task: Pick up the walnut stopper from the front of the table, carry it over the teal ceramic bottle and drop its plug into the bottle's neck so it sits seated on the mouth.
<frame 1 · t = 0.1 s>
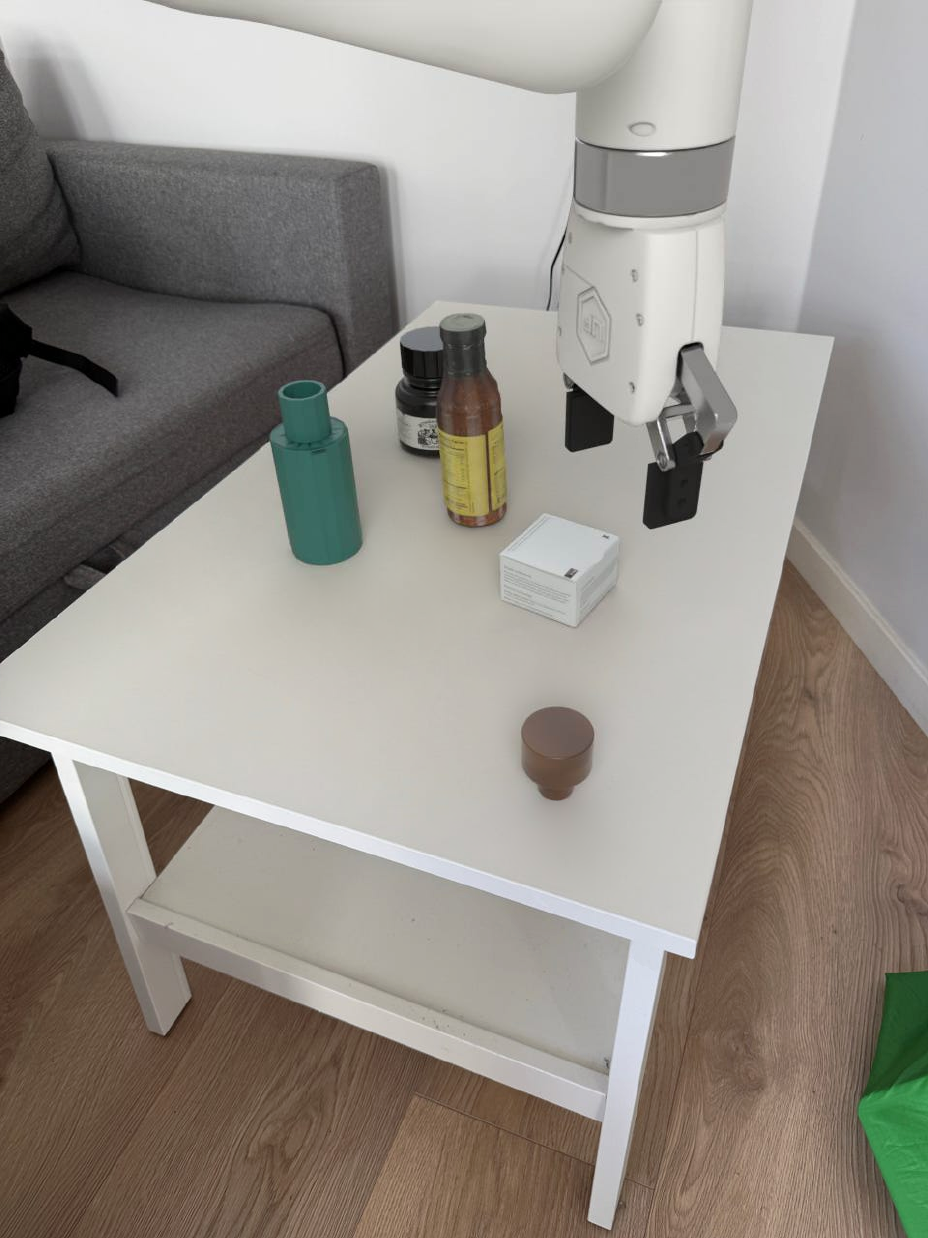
hand: (626, 481, 55), 21 cm above the table, tool pointing down, fingers open, 9 cm apart
sauce bottle: (474, 515, 92), on the table
bottle: (327, 544, 88), on the table
small box: (558, 593, 81), on the table
stopper: (555, 786, 64), on the table
ink bottle: (438, 442, 104), on the table
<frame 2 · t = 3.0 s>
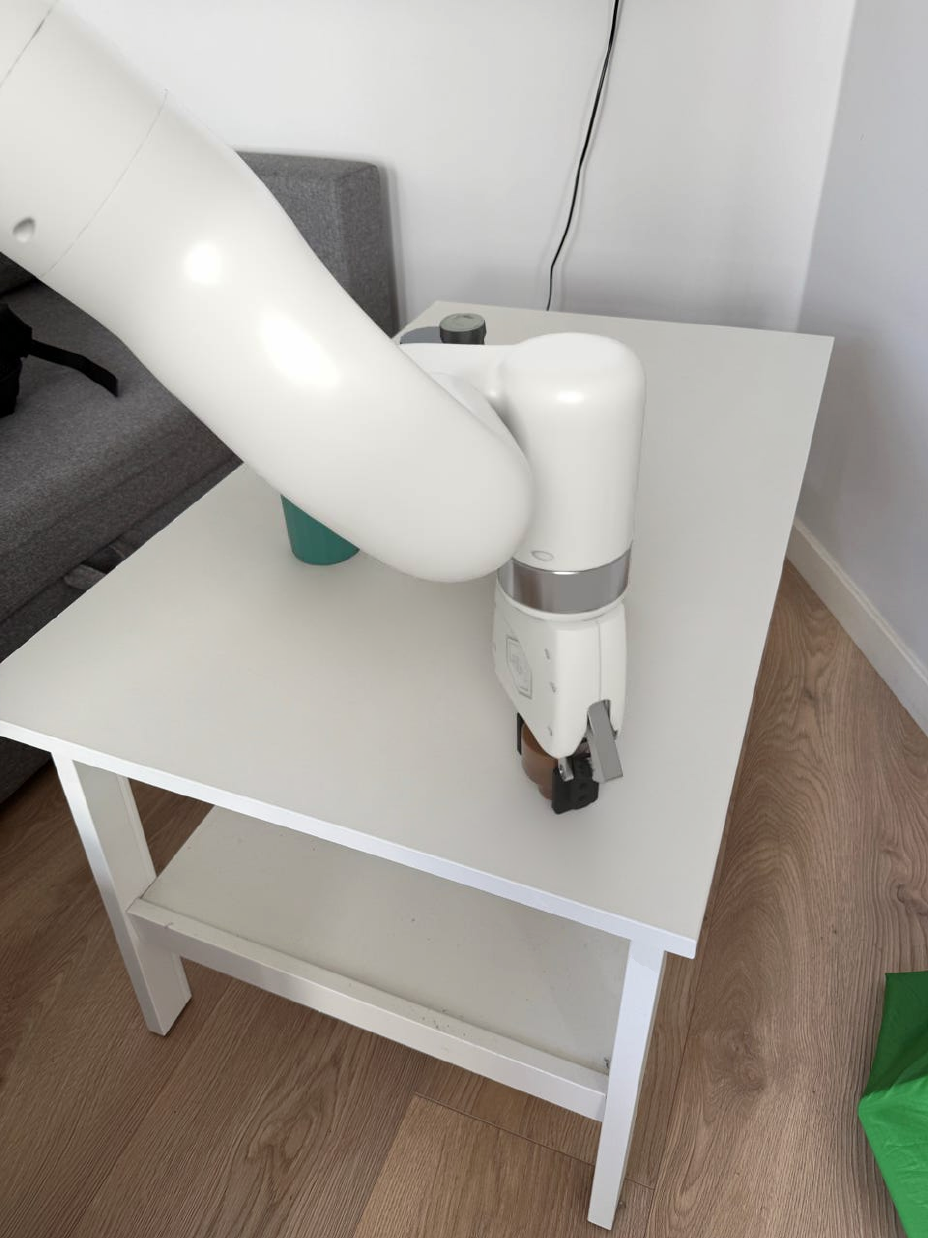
hand: (556, 774, 63), 1 cm above the table, tool pointing down, fingers closed on stopper, 4 cm apart
stopper: (556, 786, 64), on the table, touching gripper
everything else where it was.
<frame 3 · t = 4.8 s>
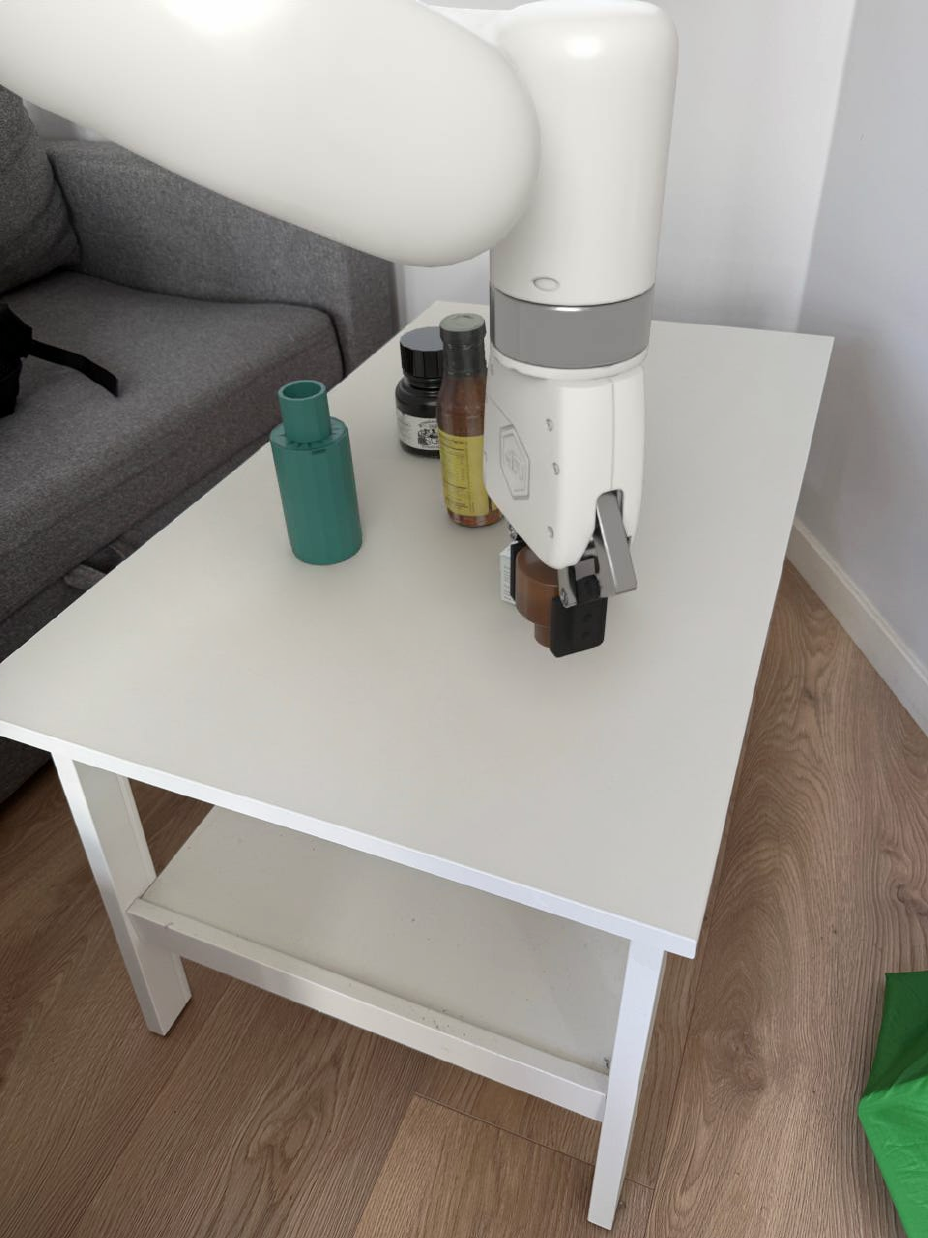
hand: (555, 618, 54), 15 cm above the table, tool pointing down, fingers closed on stopper, 4 cm apart
stopper: (555, 635, 55), point 14 cm above the table, touching gripper
everything else where it was.
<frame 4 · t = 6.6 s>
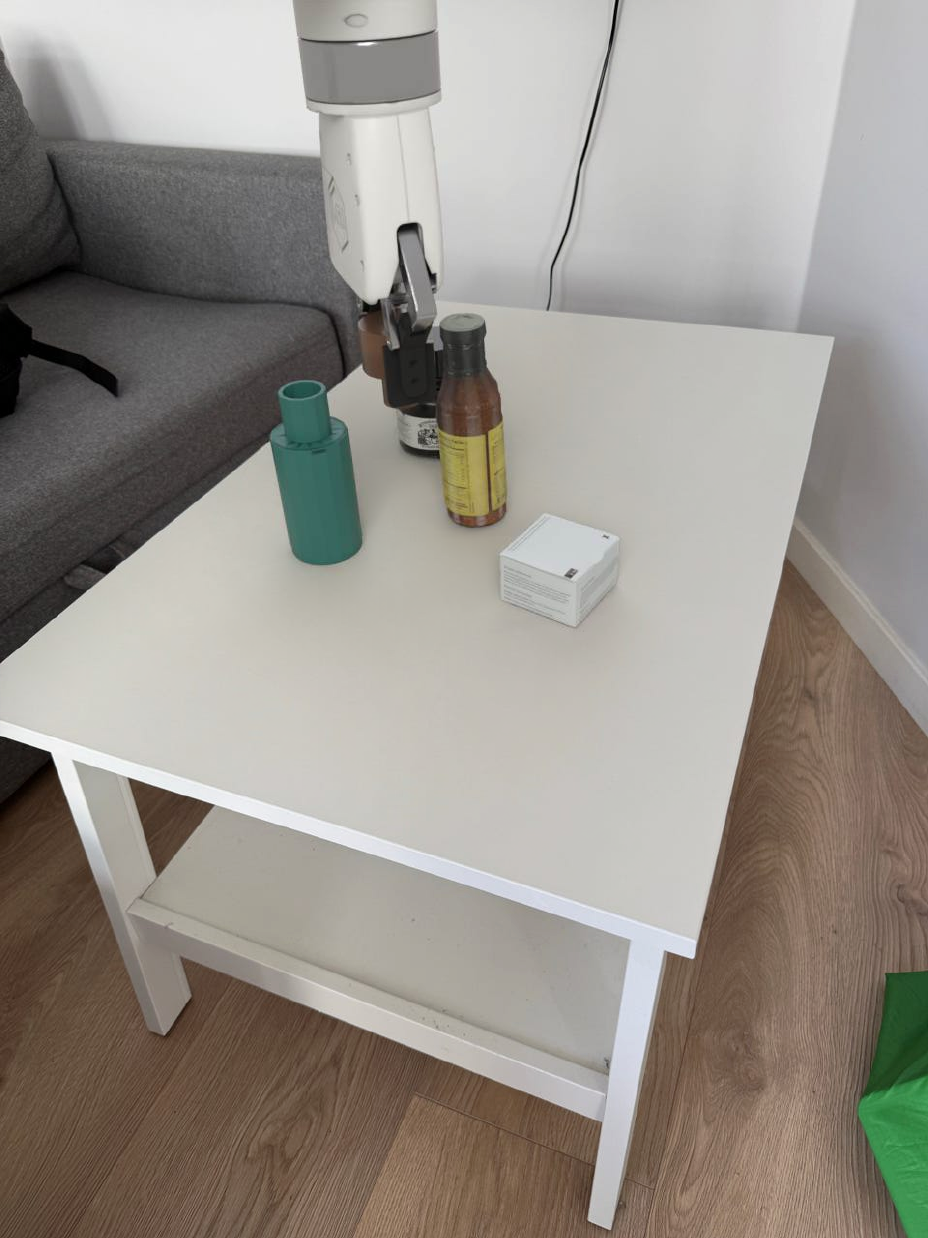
hand: (399, 382, 61), 23 cm above the table, tool pointing down, fingers closed on stopper, 4 cm apart
stopper: (402, 400, 62), point 22 cm above the table, touching gripper
everything else where it was.
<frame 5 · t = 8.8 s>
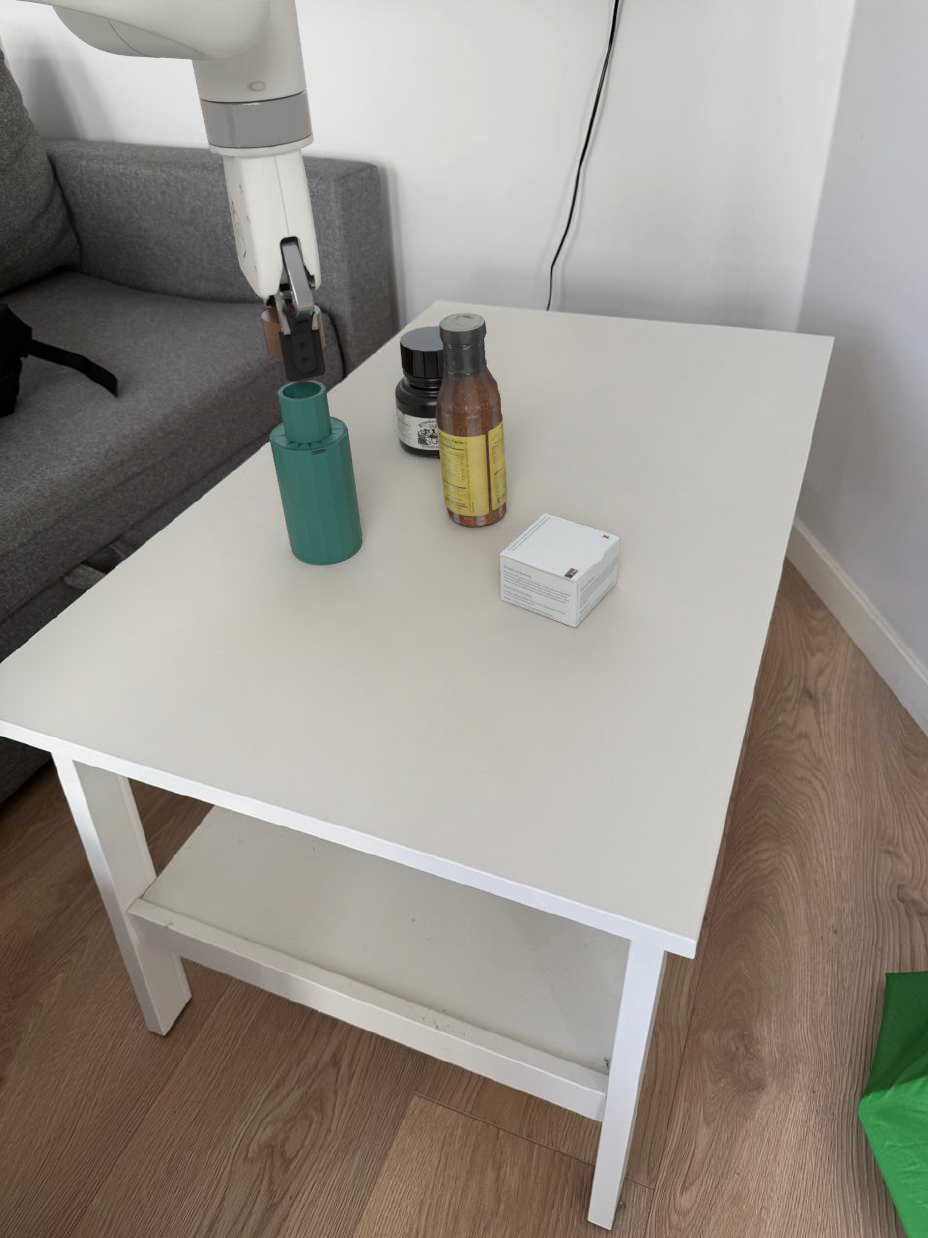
hand: (298, 362, 77), 18 cm above the table, tool pointing down, fingers closed on stopper, 4 cm apart
stopper: (301, 376, 78), point 17 cm above the table, touching gripper
everything else where it was.
when the fingers open (15 cm above the table, at t = 10.2 s): stopper stays where it is, resting on bottle.
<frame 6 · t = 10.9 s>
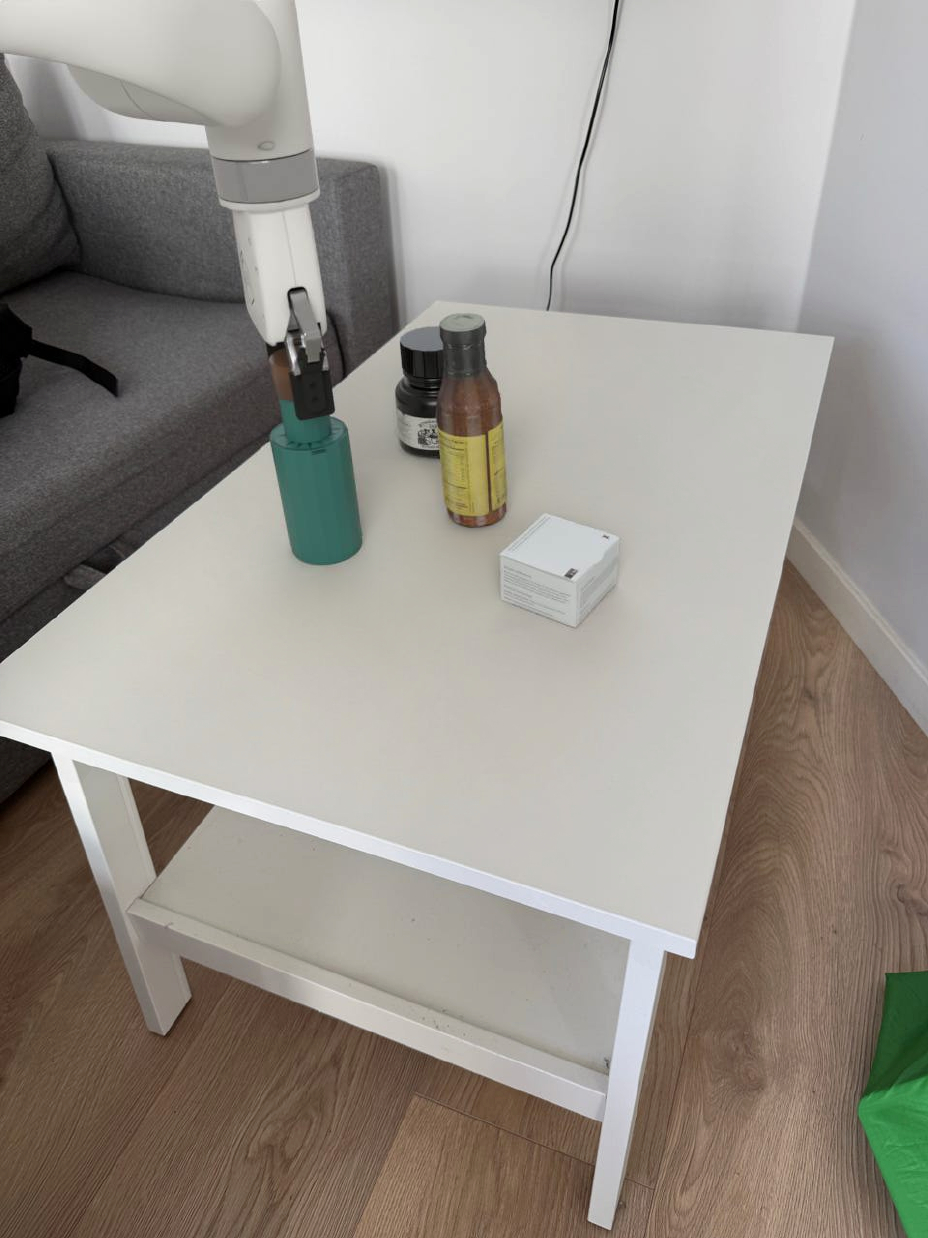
hand: (301, 392, 78), 16 cm above the table, tool pointing down, fingers open, 9 cm apart
stopper: (307, 416, 80), point 13 cm above the table, touching bottle
everything else where it was.
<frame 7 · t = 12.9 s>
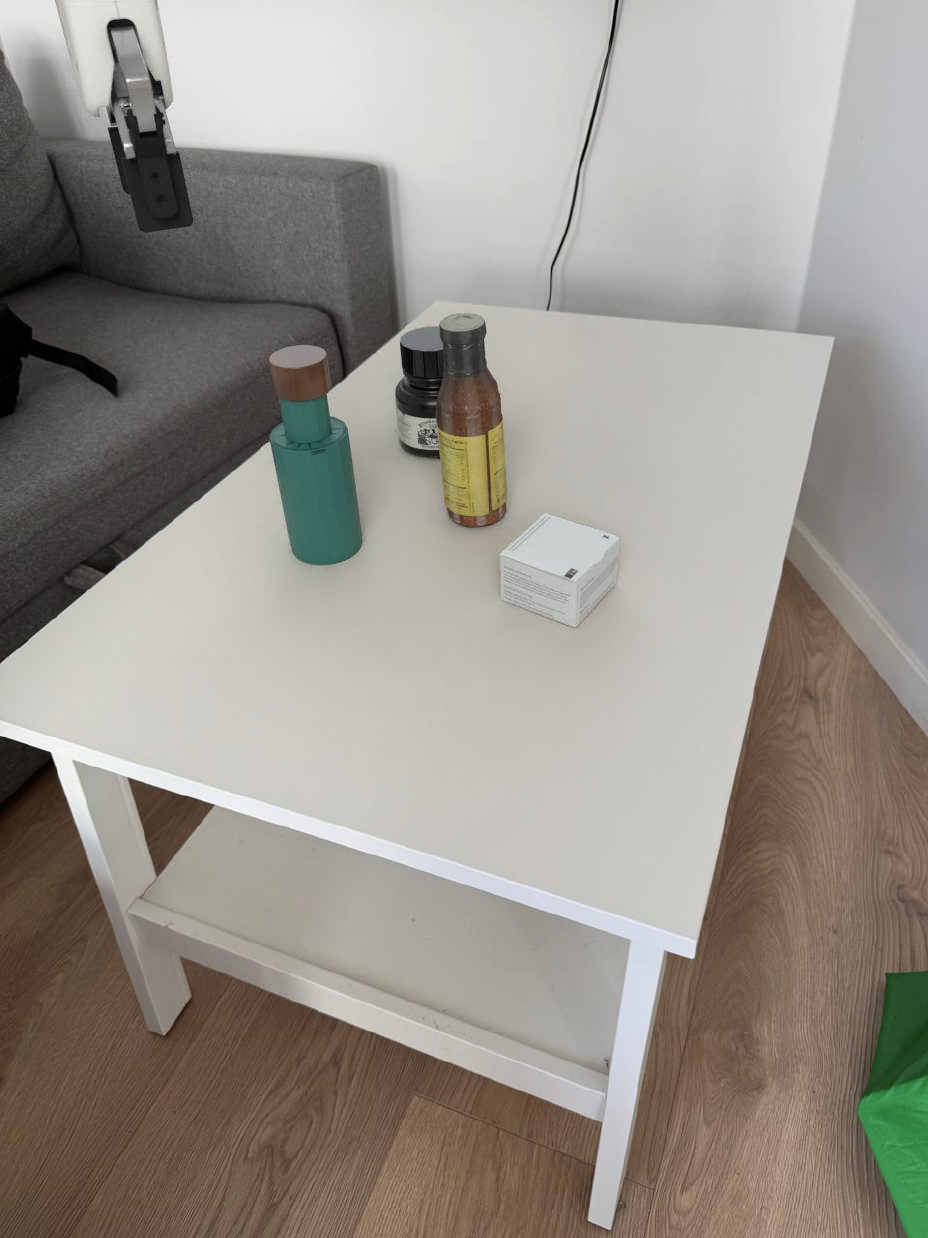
hand: (157, 208, 58), 34 cm above the table, tool pointing down, fingers open, 9 cm apart
nothing on the table moved.
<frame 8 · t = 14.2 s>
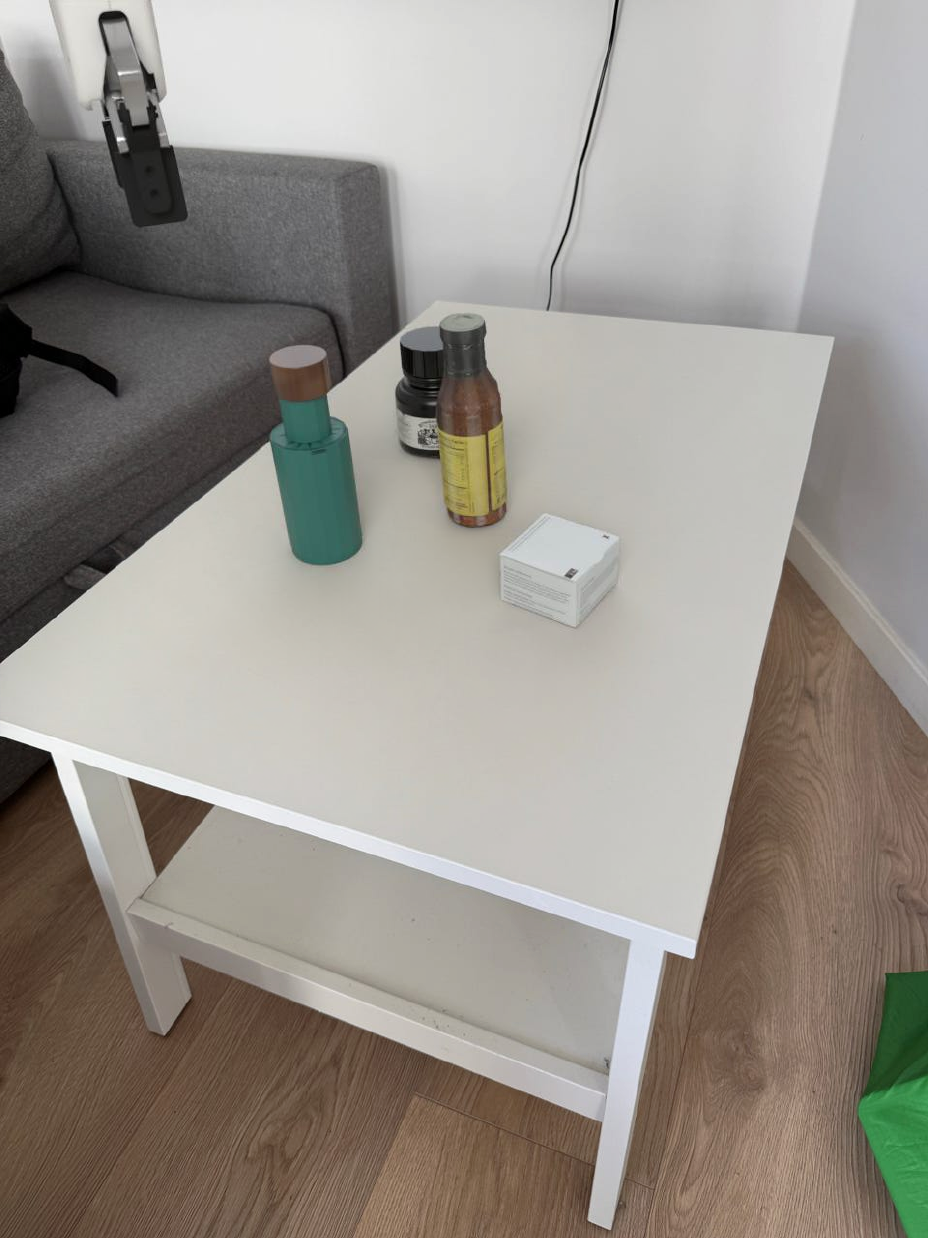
hand: (151, 202, 58), 34 cm above the table, tool pointing down, fingers open, 9 cm apart
nothing on the table moved.
at the end: stopper 0.1 cm off-centre in the bottle, point 13.5 cm above the bottle's base; stopper tilted 0° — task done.
